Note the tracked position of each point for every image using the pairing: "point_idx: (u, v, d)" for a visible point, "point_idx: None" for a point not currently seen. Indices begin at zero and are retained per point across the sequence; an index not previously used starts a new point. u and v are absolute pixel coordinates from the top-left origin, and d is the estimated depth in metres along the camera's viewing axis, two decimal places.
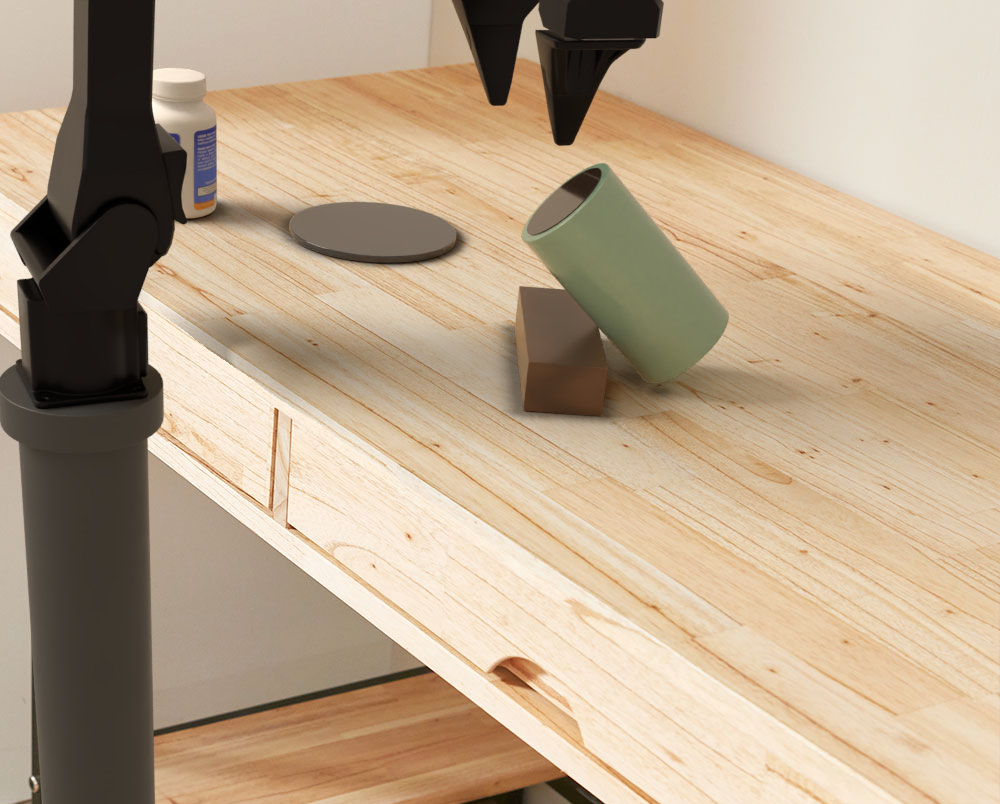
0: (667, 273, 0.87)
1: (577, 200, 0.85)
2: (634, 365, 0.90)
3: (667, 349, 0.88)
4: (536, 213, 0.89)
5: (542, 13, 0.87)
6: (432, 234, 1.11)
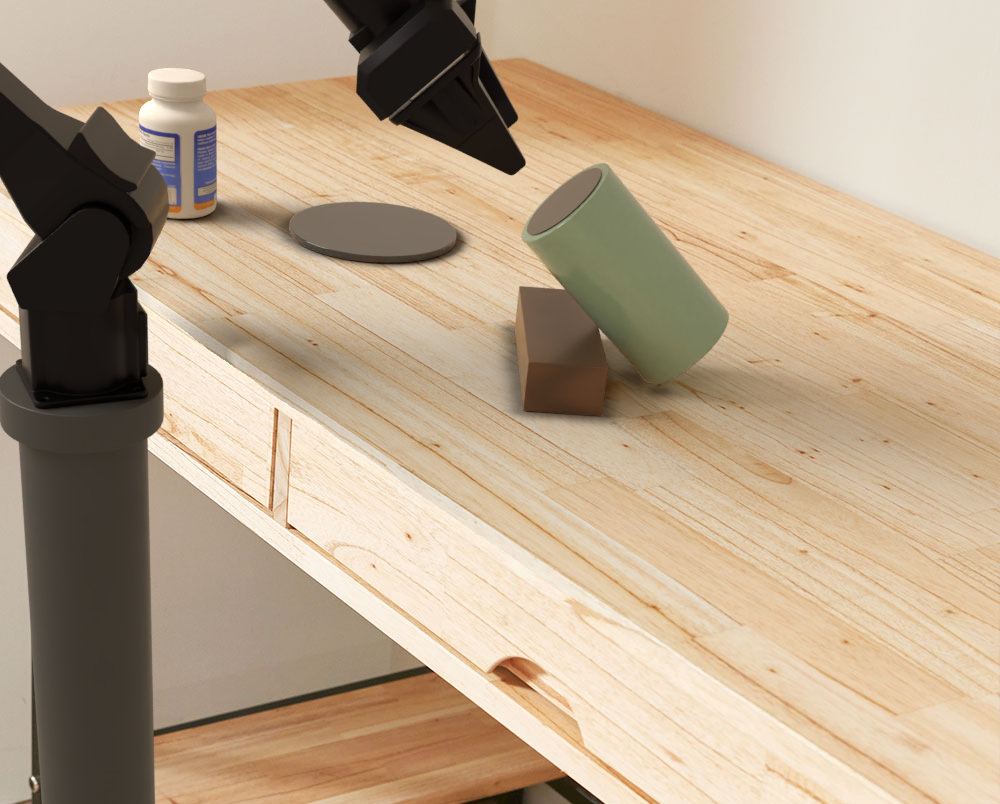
0: (667, 273, 0.87)
1: (577, 200, 0.85)
2: (634, 365, 0.90)
3: (667, 349, 0.88)
4: (536, 213, 0.89)
5: None
6: (432, 234, 1.11)
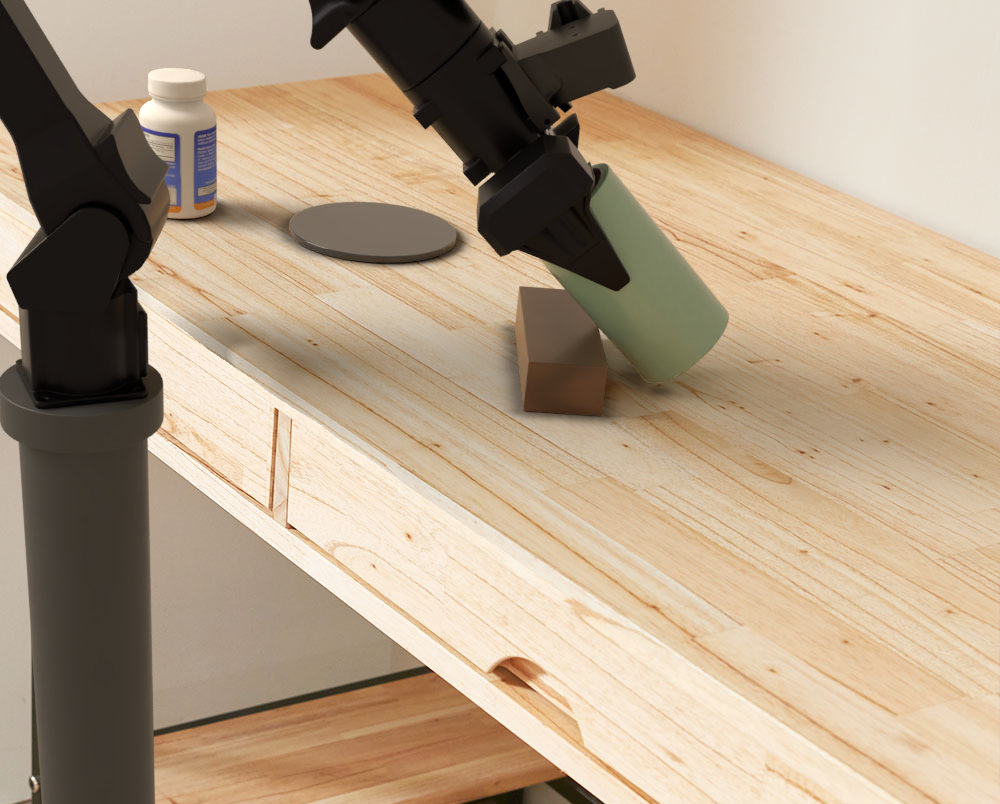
0: (667, 273, 0.87)
1: None
2: (634, 365, 0.90)
3: (667, 349, 0.88)
4: None
5: None
6: (432, 234, 1.11)
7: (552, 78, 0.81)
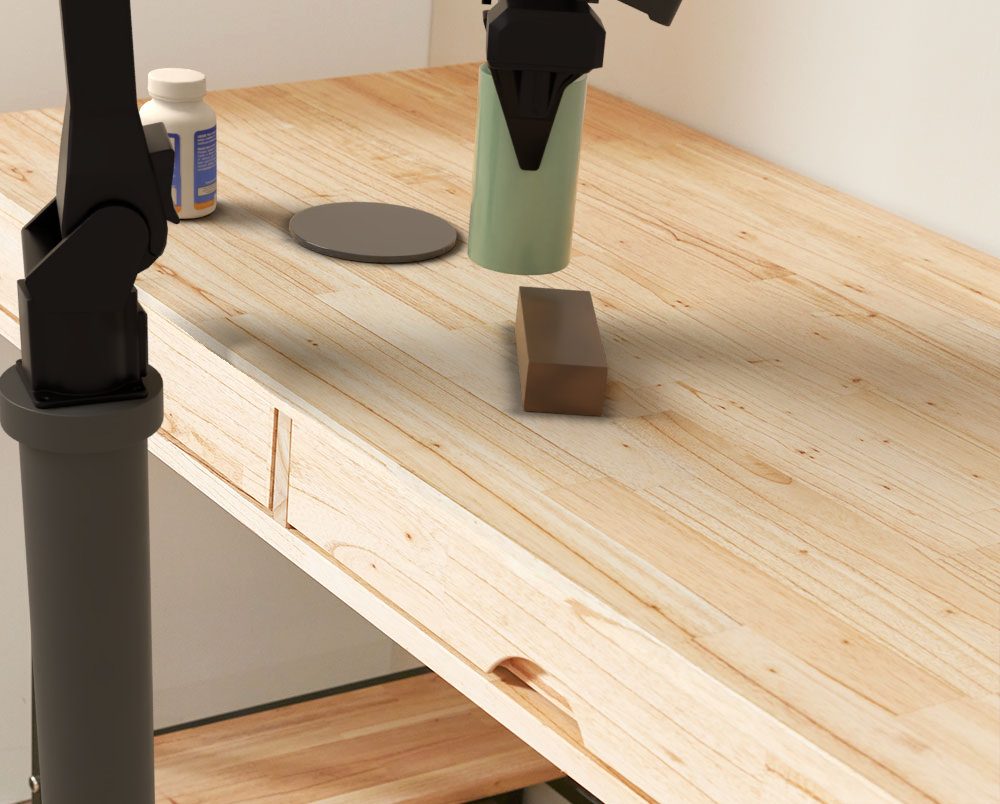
0: (563, 190, 0.91)
1: None
2: (475, 239, 0.94)
3: (514, 247, 0.92)
4: None
5: (486, 35, 0.83)
6: (432, 234, 1.11)
7: None
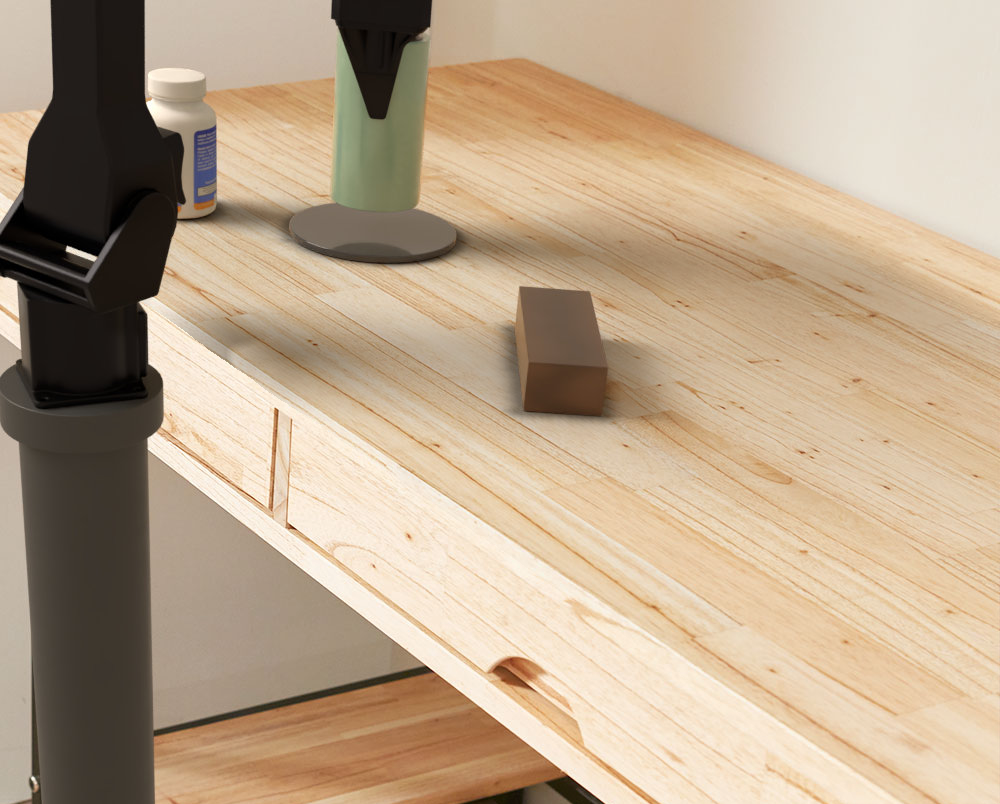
0: (409, 138, 1.05)
1: None
2: (334, 180, 1.08)
3: (367, 186, 1.06)
4: None
5: None
6: (432, 234, 1.11)
7: None
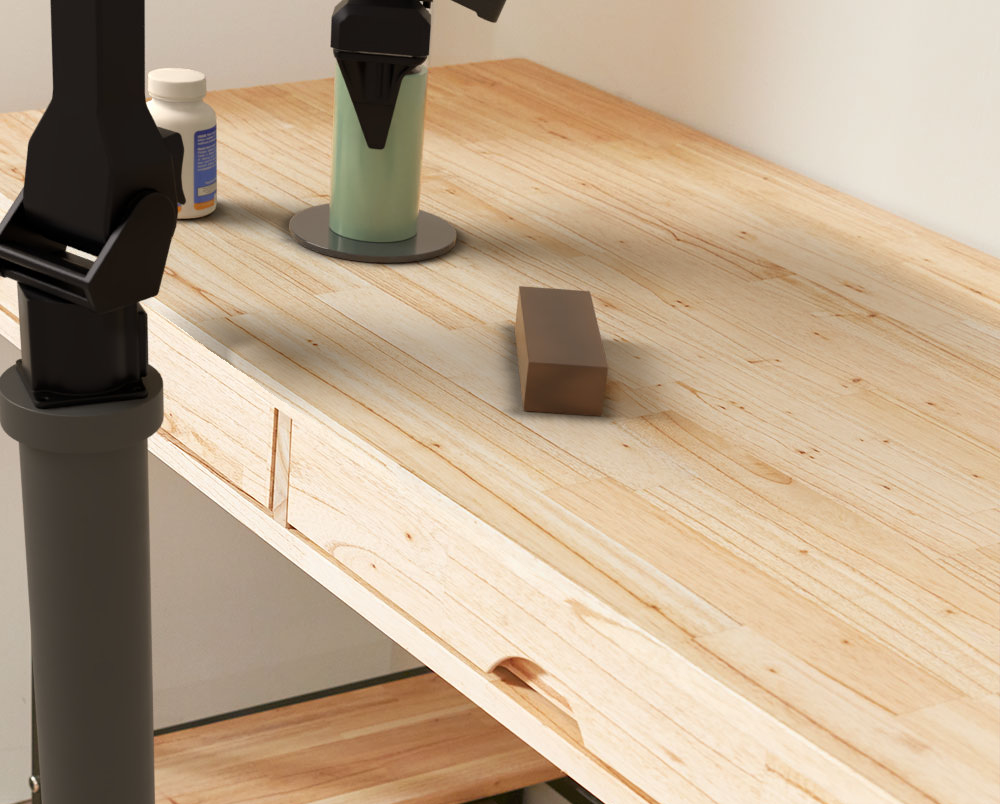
0: (407, 169, 1.06)
1: None
2: (333, 210, 1.09)
3: (365, 217, 1.07)
4: None
5: None
6: (432, 234, 1.11)
7: None
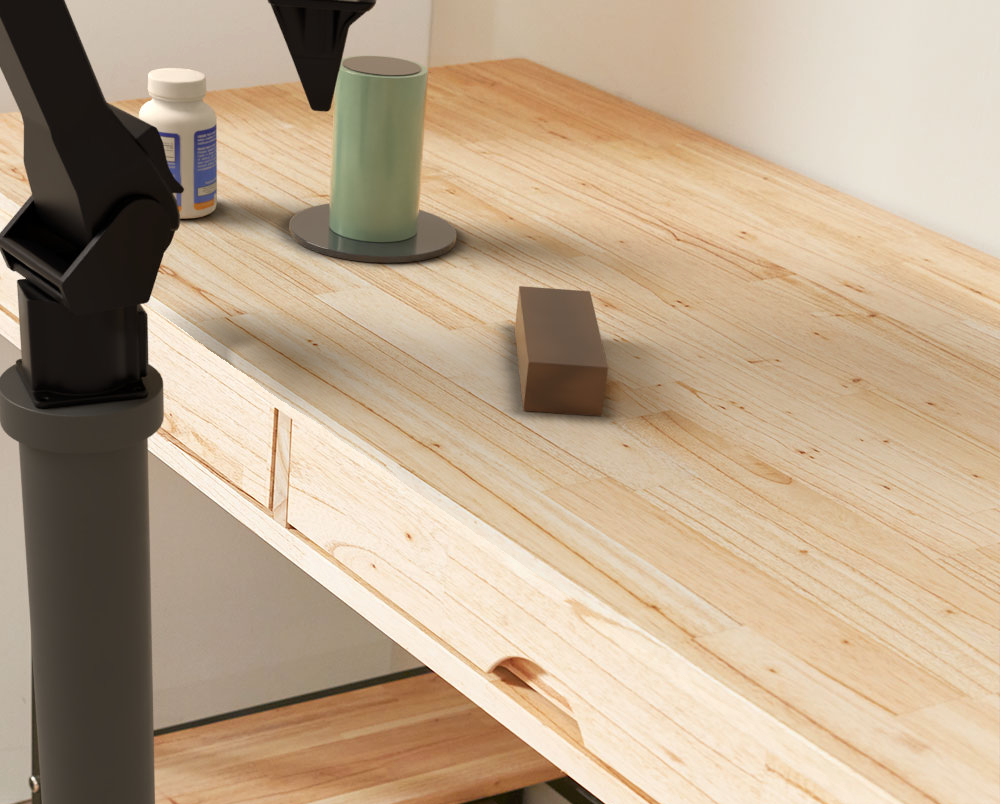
0: (407, 169, 1.06)
1: (393, 71, 1.04)
2: (333, 210, 1.09)
3: (365, 217, 1.07)
4: (355, 58, 1.06)
5: None
6: (432, 234, 1.11)
7: None
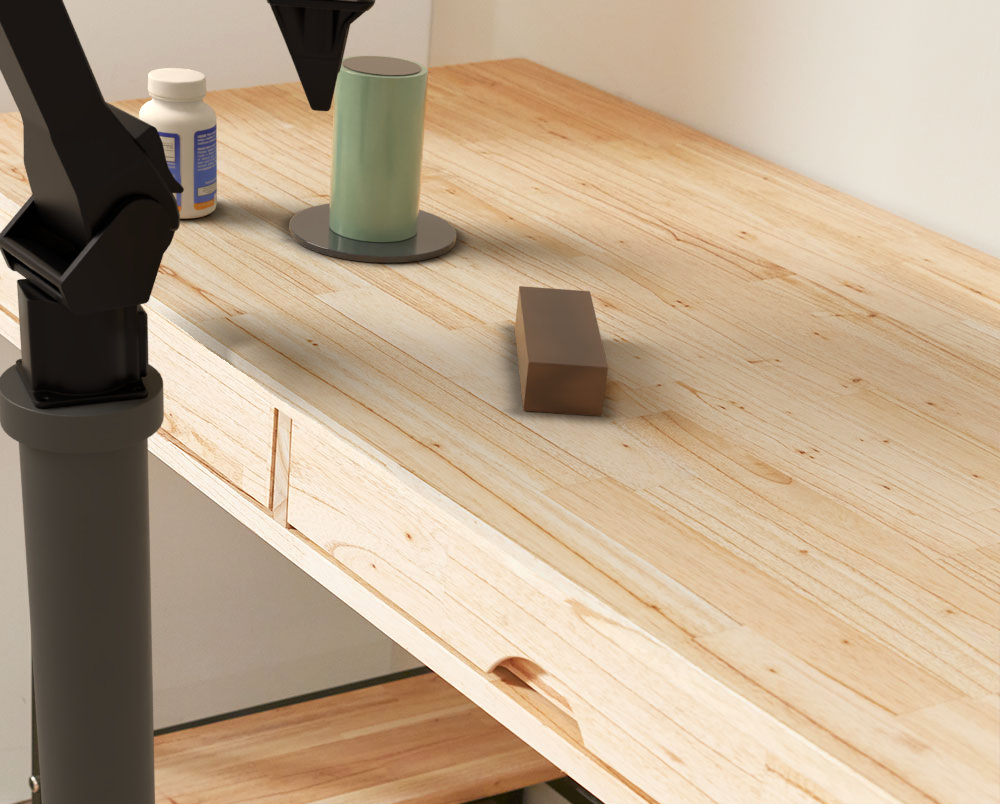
0: (407, 169, 1.06)
1: (393, 71, 1.04)
2: (333, 210, 1.09)
3: (365, 217, 1.07)
4: (355, 58, 1.06)
5: None
6: (432, 234, 1.11)
7: None
